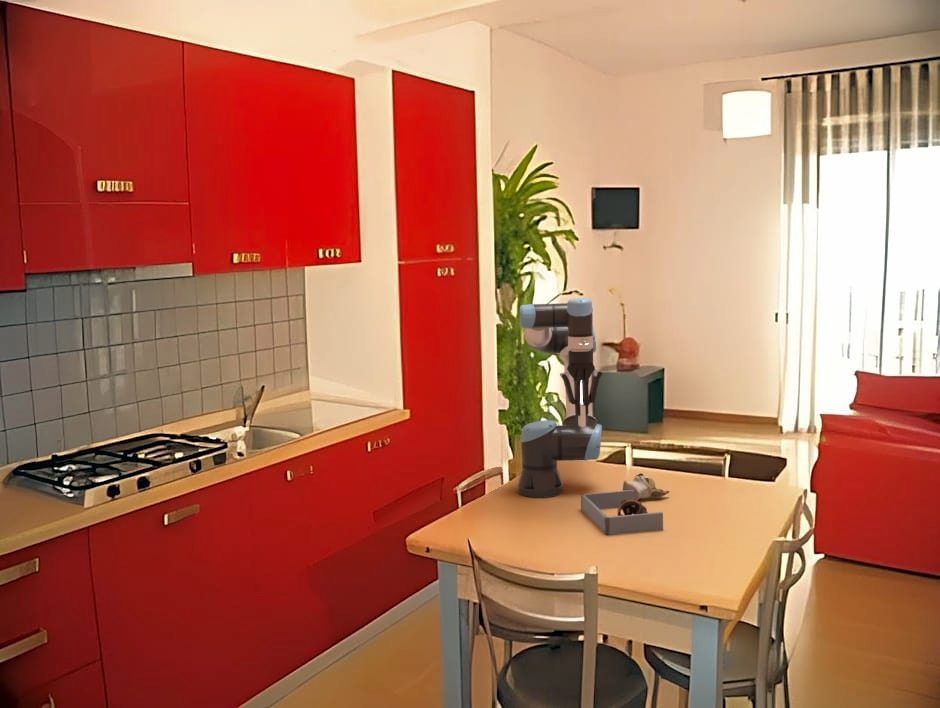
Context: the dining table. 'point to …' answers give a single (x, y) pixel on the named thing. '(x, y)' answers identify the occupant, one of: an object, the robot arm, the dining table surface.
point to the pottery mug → (631, 508)
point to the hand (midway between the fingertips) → (582, 425)
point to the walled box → (618, 523)
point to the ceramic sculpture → (643, 487)
